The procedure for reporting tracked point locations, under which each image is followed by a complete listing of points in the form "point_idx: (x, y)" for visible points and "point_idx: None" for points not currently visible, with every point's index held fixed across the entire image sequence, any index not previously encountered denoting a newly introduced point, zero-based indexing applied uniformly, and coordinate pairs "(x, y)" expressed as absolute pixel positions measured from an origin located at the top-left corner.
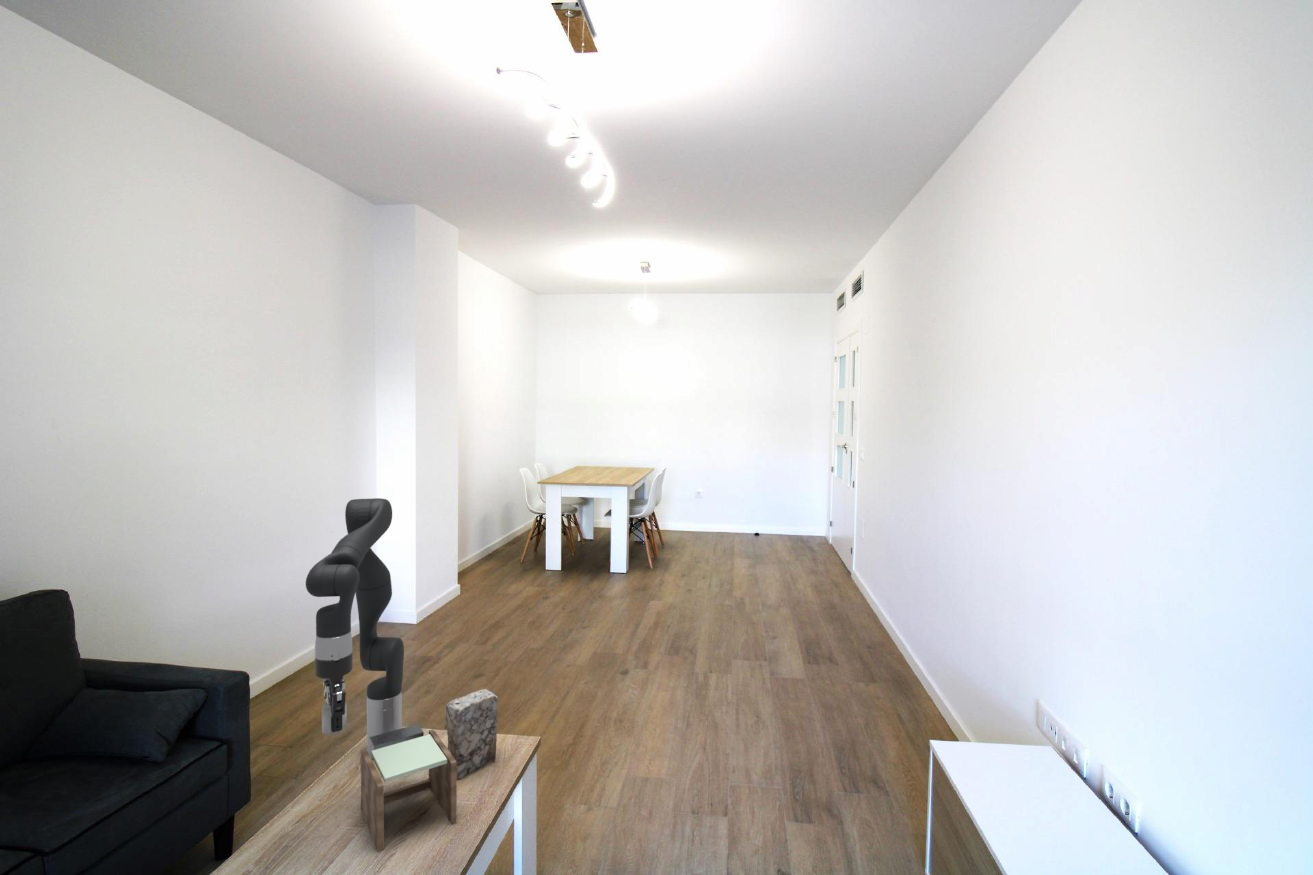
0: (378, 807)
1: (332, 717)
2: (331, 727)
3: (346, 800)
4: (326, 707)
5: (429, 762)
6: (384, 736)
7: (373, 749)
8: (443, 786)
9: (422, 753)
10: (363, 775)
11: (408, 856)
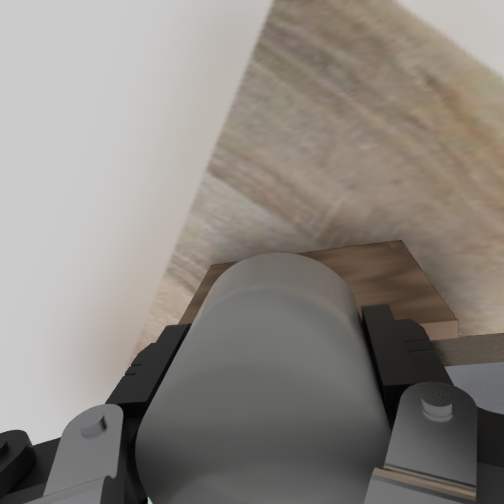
0: (183, 315)
1: (127, 402)
2: (158, 340)
3: (463, 206)
4: (240, 406)
5: None
6: (501, 405)
7: (445, 355)
8: None
9: None
10: (387, 289)
11: (175, 315)
